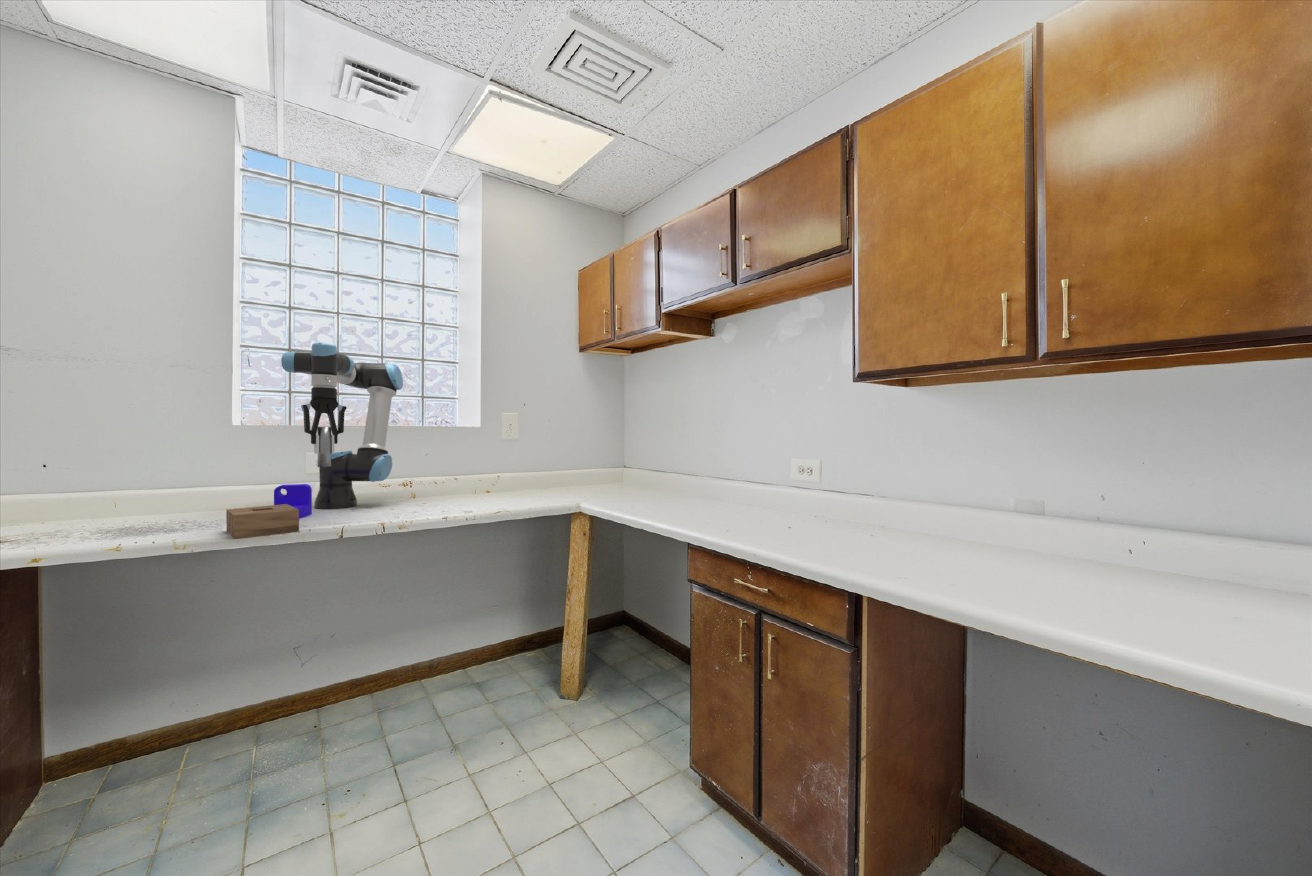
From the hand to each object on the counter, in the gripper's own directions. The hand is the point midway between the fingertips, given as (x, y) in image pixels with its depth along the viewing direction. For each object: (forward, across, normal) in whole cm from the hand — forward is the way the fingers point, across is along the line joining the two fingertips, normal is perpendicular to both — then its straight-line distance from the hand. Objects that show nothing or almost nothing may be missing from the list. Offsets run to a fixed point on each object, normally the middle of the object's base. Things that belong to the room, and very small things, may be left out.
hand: (324, 453), depth 175 cm
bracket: (+25, -7, +16) cm, 30 cm away
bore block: (+25, -18, -4) cm, 31 cm away
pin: (+5, 0, 0) cm, 5 cm away
